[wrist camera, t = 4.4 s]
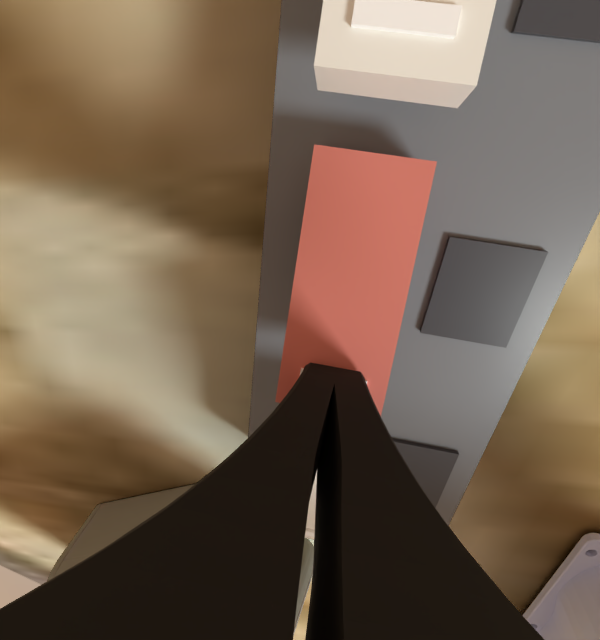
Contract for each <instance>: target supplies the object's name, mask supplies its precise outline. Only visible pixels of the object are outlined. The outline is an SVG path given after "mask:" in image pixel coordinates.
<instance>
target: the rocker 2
mask: <svg viewBox="0 0 600 640" xmlns="http://www.w3.org/2000/svg"><path fill="white" fill-rule="evenodd" d="M436 164H437V161H429V160H422V159H415V158H408V157H401V156H394V155H387V154H379V153H372V152H365V151H358V150H351V149H344V148H336V147H329V146H322V145H315V144H314V149H313V156H312V162H311V169H310V175H309V182H308V189H307V195H306V202H305V208H304V215H303V222H302V228H301V235H300V241H299V248H298V255H297V261H296V268H295V275H294V281H293V288H292V294H291V301H290V308H289V314H288V321H287V327H286V334H285V341H284V347H283V354H282V360H281V367H280V374H279V380H278V387H277V393H276V400H275V402H278V403H280V402H281V401H282V400H283V399H284V397H285V396H286V395H287V394H288V392H289V391H290V390H291V388H292V387H293V385H294V384H295V383H296V381H297V380H298V378H299V377H300V375H301V373H302V371H303V369H304V367H305V365H307V364H309V363H310V362H311V363H316V364H321V365H327V366H332V367H338V368H343V369H349V370H354V371H360V372H361V373H362V374H363V376H364V378H365V381H366V384H367V386H368V389H369V391H370V394H371V396H372V399H373V401H374V403H375V405H376V407H377V410H378V412H379V414H380V416H381V414H382V409H383V405H384V400H385V396H386V391H387V387H388V382H389V378H390V373H391V368H392V364H393V359H394V355H395V350H396V346H397V341H398V337H399V332H400V328H401V323H402V318H403V314H404V309H405V305H406V300H407V296H408V291H409V287H410V282H411V277H412V273H413V268H414V264H415V259H416V255H417V250H418V246H419V241H420V237H421V232H422V227H423V223H424V218H425V214H426V209H427V205H428V200H429V196H430V191H431V186H432V182H433V177H434V173H435V168H436Z"/></svg>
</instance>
